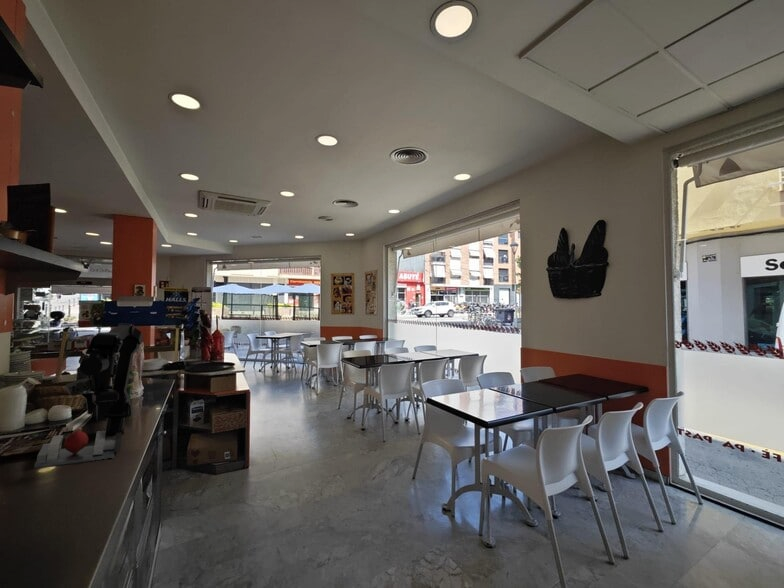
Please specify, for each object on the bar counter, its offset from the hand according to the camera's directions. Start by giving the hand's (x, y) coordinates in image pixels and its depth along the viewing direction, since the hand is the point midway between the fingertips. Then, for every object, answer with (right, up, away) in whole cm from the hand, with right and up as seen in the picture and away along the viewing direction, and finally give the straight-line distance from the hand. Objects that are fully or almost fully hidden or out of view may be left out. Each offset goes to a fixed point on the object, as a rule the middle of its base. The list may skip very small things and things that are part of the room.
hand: (94, 417), depth 118 cm
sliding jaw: (+3, -12, +2) cm, 12 cm away
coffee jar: (-25, -14, +41) cm, 50 cm away
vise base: (-3, -12, -3) cm, 13 cm away
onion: (-4, -11, -3) cm, 12 cm away
